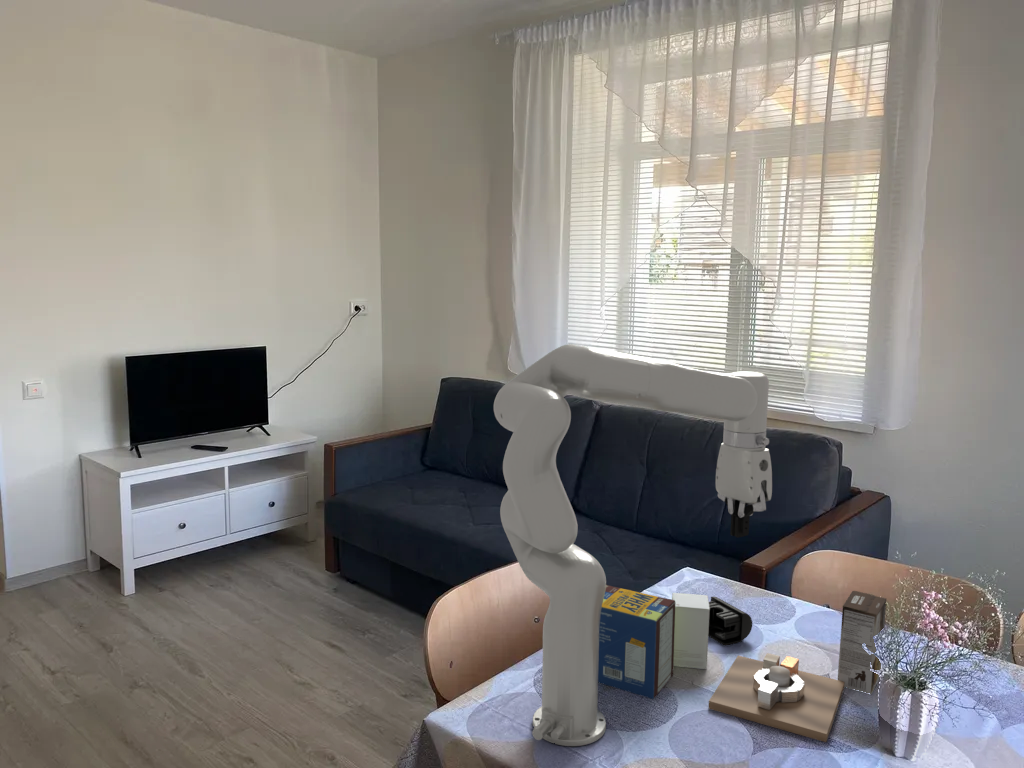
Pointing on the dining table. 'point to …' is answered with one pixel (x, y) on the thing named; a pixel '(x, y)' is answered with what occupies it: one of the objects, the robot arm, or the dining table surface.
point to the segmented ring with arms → (773, 693)
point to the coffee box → (860, 640)
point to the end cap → (727, 623)
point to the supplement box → (691, 630)
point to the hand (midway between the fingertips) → (739, 535)
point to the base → (797, 717)
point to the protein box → (636, 641)
